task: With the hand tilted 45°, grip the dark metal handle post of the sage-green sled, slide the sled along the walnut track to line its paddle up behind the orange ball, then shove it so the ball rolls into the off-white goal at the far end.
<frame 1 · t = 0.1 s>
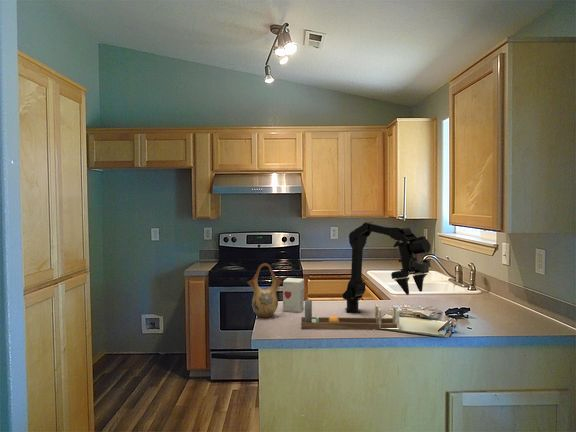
hand: (414, 293, 161), 15 cm above the worktop, tool pointing down, fingers open, 9 cm apart
ceramic vessel: (265, 316, 180), on the worktop
orange ball: (333, 321, 166), point 2 cm above the worktop
striker sled: (311, 312, 166), point 6 cm above the worktop, slide at 0.0 cm
supplement box: (293, 309, 192), on the worktop
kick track: (347, 326, 166), on the worktop
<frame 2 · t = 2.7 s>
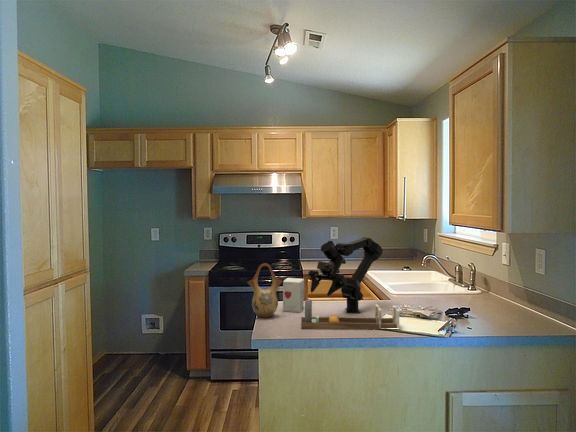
hand: (319, 293, 170), 13 cm above the worktop, tool tilted 45°, fingers open, 9 cm apart
nothing on the worktop moved.
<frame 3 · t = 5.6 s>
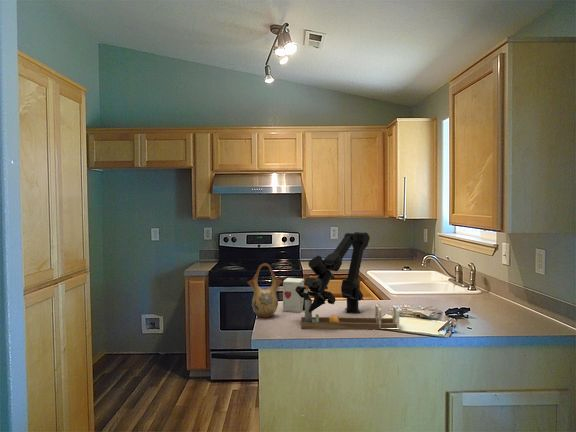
hand: (306, 311, 164), 7 cm above the worktop, tool tilted 45°, fingers closed on striker sled, 3 cm apart
striker sled: (311, 312, 166), point 6 cm above the worktop, slide at 0.0 cm, touching gripper
everything else where it was.
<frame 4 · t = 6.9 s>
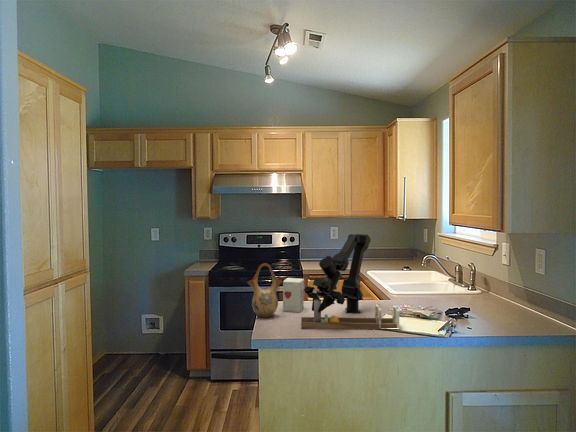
hand: (315, 311, 164), 7 cm above the worktop, tool tilted 45°, fingers closed on striker sled, 3 cm apart
striker sled: (320, 312, 166), point 6 cm above the worktop, slide at 3.9 cm, touching gripper
everything else where it was.
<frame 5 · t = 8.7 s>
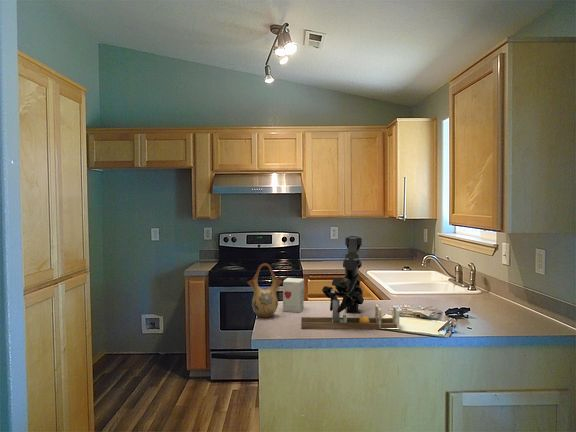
hand: (334, 311, 163), 7 cm above the worktop, tool tilted 45°, fingers open, 4 cm apart
orange ball: (364, 321, 166), point 2 cm above the worktop, tilted 22°
striker sled: (339, 312, 166), point 6 cm above the worktop, slide at 11.9 cm
everything else where it was.
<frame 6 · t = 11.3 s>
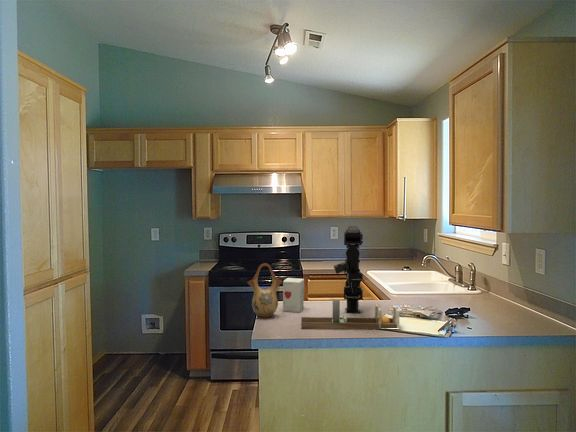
hand: (352, 291, 174), 13 cm above the worktop, tool pointing down, fingers open, 9 cm apart
orange ball: (384, 321, 165), point 2 cm above the worktop, tilted 156°
everything else where it was.
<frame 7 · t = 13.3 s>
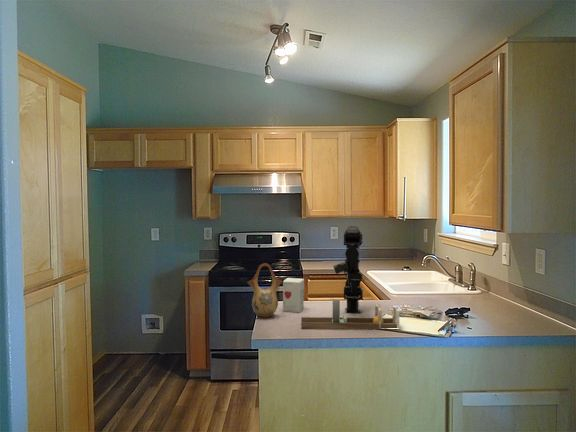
hand: (352, 291, 174), 13 cm above the worktop, tool pointing down, fingers open, 9 cm apart
orange ball: (378, 321, 165), point 2 cm above the worktop, tilted 134°
everything else where it was.
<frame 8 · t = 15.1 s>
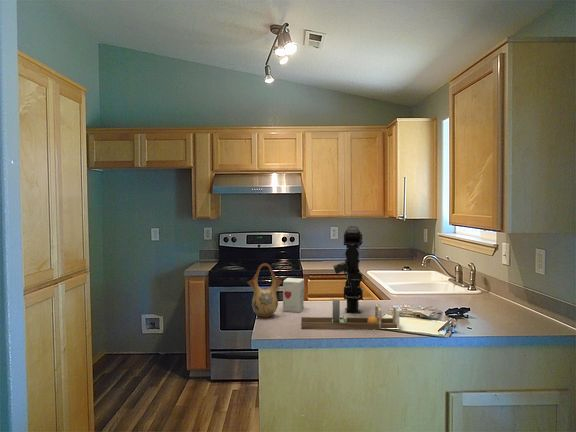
hand: (352, 291, 174), 13 cm above the worktop, tool pointing down, fingers open, 9 cm apart
orange ball: (372, 321, 165), point 2 cm above the worktop, tilted 71°
everything else where it was.
at the end: orange ball inside the target area (4.9 cm from its centre), point 2.2 cm above the worktop; striker sled slide at 11.9 cm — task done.
